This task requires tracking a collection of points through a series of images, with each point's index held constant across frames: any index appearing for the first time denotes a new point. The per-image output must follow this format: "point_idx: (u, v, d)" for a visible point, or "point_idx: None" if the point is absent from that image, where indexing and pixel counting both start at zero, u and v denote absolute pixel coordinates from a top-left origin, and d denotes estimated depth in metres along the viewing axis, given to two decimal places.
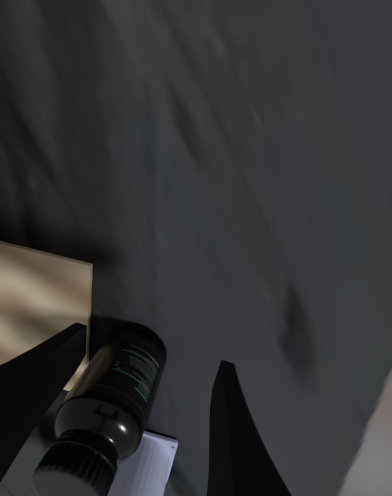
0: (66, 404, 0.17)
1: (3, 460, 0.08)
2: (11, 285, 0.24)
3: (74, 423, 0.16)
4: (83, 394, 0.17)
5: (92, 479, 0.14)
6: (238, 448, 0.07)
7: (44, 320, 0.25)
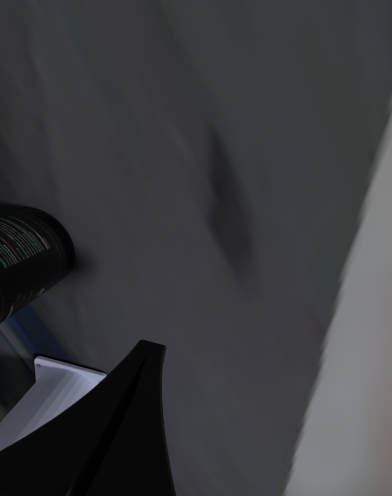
0: None
1: None
2: None
3: None
4: None
5: None
6: (132, 418, 0.07)
7: None
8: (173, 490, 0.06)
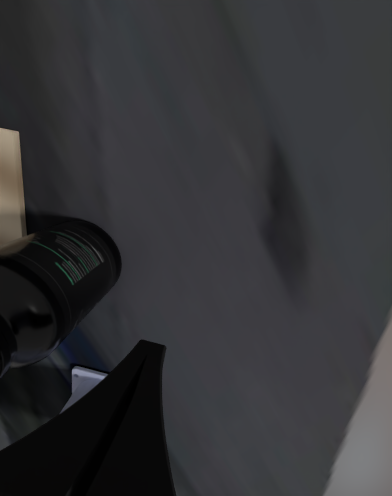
0: None
1: None
2: None
3: None
4: None
5: None
6: (132, 418, 0.08)
7: None
8: (173, 490, 0.06)
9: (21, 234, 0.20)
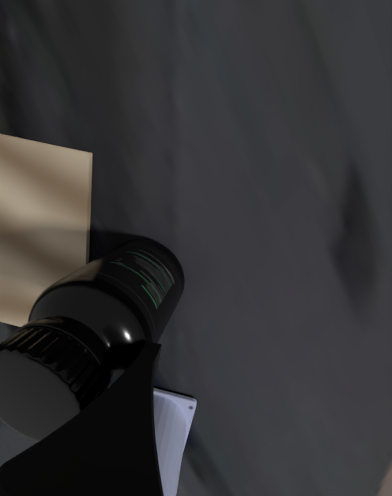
0: (43, 291, 0.12)
1: None
2: None
3: (50, 311, 0.11)
4: (68, 278, 0.12)
5: (66, 372, 0.08)
6: (122, 416, 0.08)
7: (32, 238, 0.20)
8: (160, 486, 0.06)
9: (85, 252, 0.20)
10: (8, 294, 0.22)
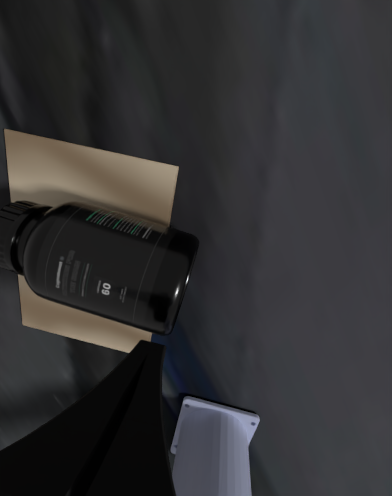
0: None
1: None
2: None
3: None
4: None
5: (18, 202, 0.15)
6: (132, 418, 0.08)
7: None
8: (173, 490, 0.06)
9: None
10: (72, 308, 0.22)
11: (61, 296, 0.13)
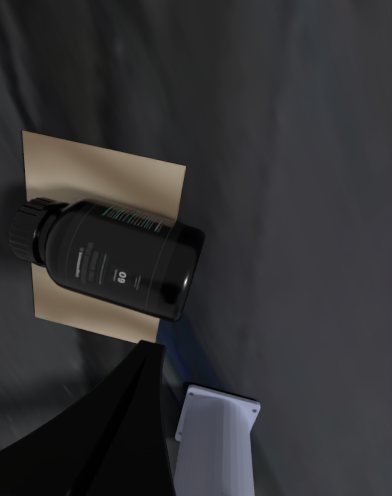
0: None
1: None
2: None
3: None
4: None
5: (38, 198, 0.16)
6: (132, 418, 0.08)
7: None
8: (173, 490, 0.06)
9: None
10: (83, 300, 0.23)
11: (80, 285, 0.14)
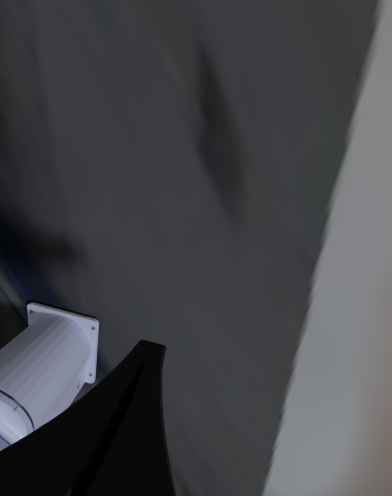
0: None
1: None
2: None
3: None
4: None
5: None
6: (132, 418, 0.08)
7: None
8: (173, 490, 0.06)
9: None
10: None
11: None
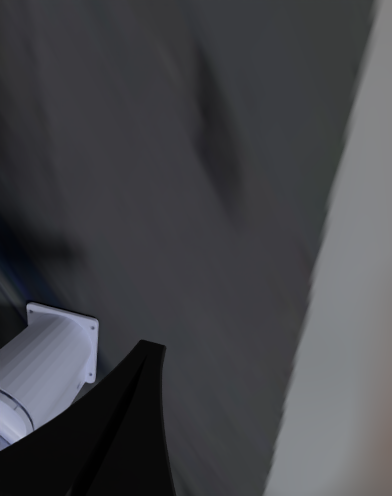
0: None
1: None
2: None
3: None
4: None
5: None
6: (132, 418, 0.08)
7: None
8: (173, 490, 0.06)
9: None
10: None
11: None
